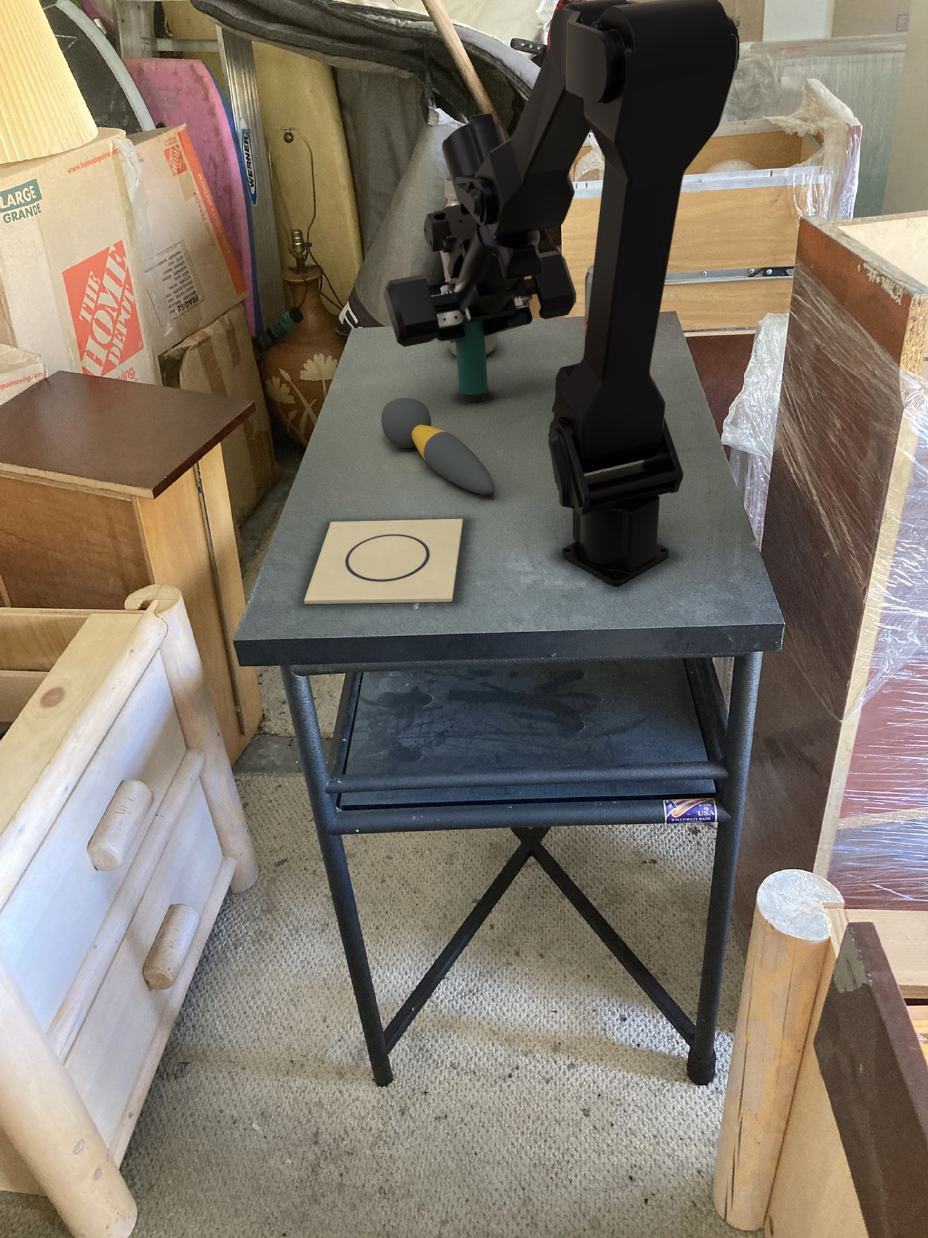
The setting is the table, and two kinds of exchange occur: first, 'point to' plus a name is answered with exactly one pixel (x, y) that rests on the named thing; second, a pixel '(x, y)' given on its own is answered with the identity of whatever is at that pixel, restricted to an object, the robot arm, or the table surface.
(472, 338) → the marker
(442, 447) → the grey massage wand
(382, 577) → the beige square board
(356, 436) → the table surface
